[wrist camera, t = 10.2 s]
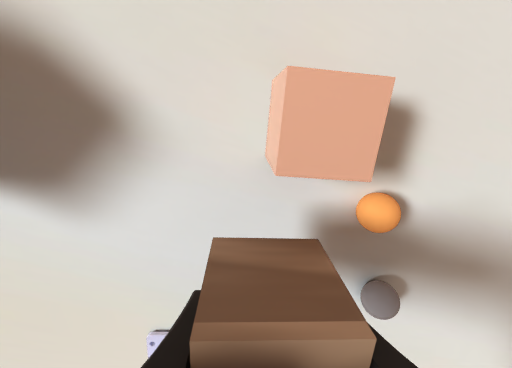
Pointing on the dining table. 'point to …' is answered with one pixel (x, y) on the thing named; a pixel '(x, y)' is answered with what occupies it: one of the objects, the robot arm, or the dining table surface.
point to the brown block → (276, 309)
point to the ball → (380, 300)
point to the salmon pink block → (326, 123)
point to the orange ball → (378, 212)
